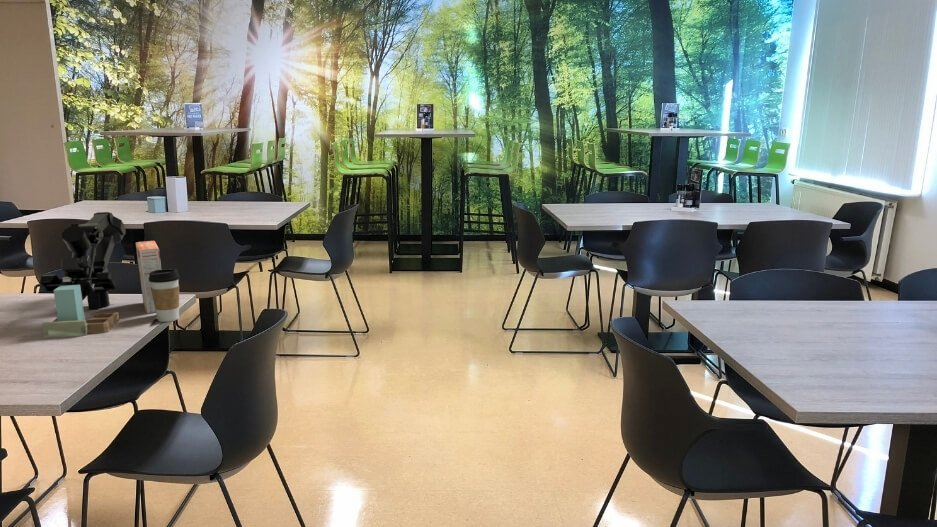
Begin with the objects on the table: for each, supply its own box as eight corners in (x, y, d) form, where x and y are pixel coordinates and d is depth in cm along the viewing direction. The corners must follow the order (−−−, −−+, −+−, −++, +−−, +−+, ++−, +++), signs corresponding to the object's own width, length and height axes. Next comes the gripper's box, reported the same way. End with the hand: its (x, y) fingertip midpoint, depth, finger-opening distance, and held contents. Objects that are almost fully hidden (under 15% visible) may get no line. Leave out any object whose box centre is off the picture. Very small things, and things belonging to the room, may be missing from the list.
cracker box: (142, 305, 210) (134, 241, 205) (162, 302, 213) (155, 240, 208) (145, 316, 198) (137, 249, 193) (166, 314, 201) (159, 247, 196)
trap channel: (63, 325, 190) (61, 308, 189) (121, 321, 193) (119, 305, 192) (44, 341, 176) (41, 323, 175) (106, 337, 180) (104, 320, 178)
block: (66, 326, 185) (60, 285, 182) (85, 325, 186) (80, 284, 183) (59, 332, 180) (53, 290, 177) (79, 331, 181) (73, 289, 178)
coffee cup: (168, 324, 191) (163, 274, 187) (146, 321, 194) (141, 272, 190) (189, 316, 198) (185, 268, 195) (168, 313, 201) (163, 266, 198)
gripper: (36, 247, 184) (25, 295, 175) (108, 244, 188) (101, 291, 179) (51, 268, 193) (41, 315, 185) (119, 265, 197) (113, 310, 189)
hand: (73, 307), depth 184 cm, fingers closed, pressing on block
